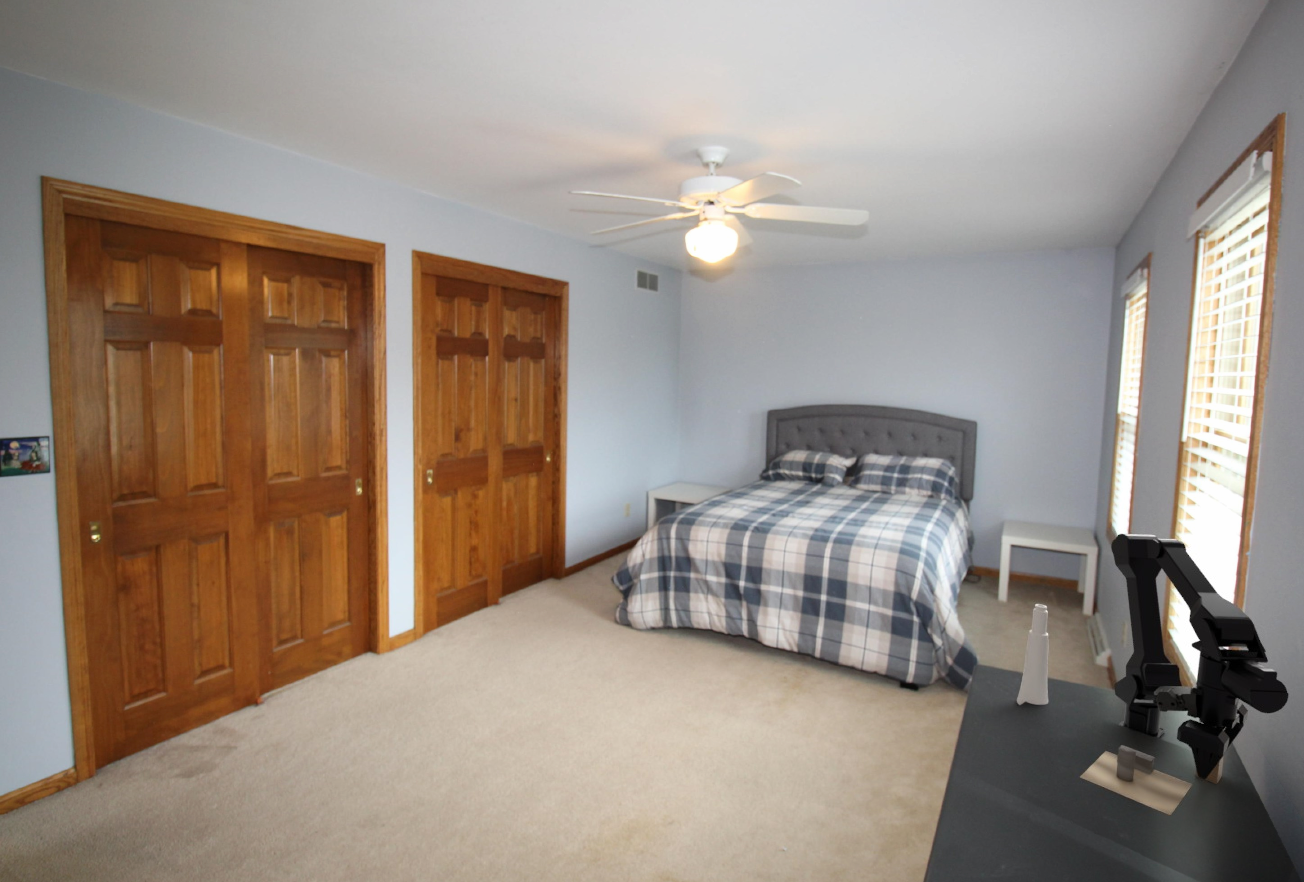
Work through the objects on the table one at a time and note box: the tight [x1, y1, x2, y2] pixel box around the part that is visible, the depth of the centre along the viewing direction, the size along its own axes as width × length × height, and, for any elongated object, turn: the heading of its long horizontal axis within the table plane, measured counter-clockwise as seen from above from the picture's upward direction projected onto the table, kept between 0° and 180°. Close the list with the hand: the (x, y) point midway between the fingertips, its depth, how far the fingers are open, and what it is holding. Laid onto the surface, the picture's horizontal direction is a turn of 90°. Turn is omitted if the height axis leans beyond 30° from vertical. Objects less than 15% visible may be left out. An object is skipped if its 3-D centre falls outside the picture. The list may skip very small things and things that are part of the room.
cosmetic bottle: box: [1016, 603, 1050, 706], centre depth 148 cm, size 6×6×22 cm
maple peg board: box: [1079, 744, 1193, 816], centre depth 119 cm, size 13×13×6 cm
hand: (1208, 769), depth 121 cm, fingers open, 8 cm apart
